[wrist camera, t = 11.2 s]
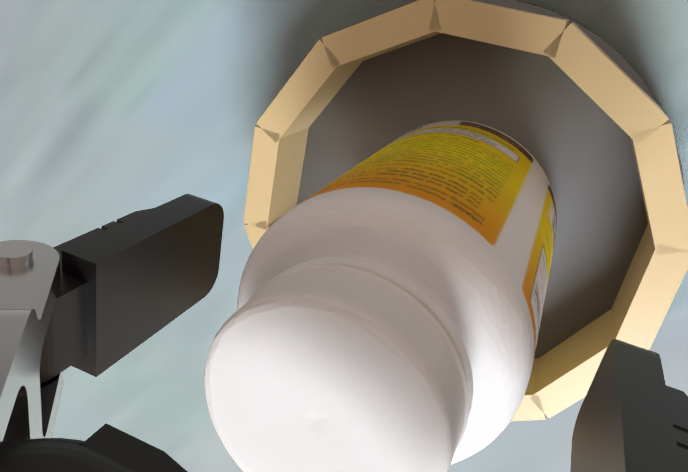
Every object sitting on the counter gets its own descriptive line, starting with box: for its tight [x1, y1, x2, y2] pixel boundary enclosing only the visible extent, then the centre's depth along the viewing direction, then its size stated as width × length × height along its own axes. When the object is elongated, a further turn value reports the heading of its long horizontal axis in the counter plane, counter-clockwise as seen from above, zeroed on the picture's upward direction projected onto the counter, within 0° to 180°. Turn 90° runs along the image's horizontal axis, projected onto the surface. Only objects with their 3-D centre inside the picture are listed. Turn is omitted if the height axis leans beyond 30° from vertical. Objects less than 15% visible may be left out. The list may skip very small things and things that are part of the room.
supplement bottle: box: [204, 120, 557, 472], centre depth 13 cm, size 6×6×10 cm
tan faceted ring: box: [244, 0, 688, 421], centre depth 17 cm, size 12×12×3 cm
